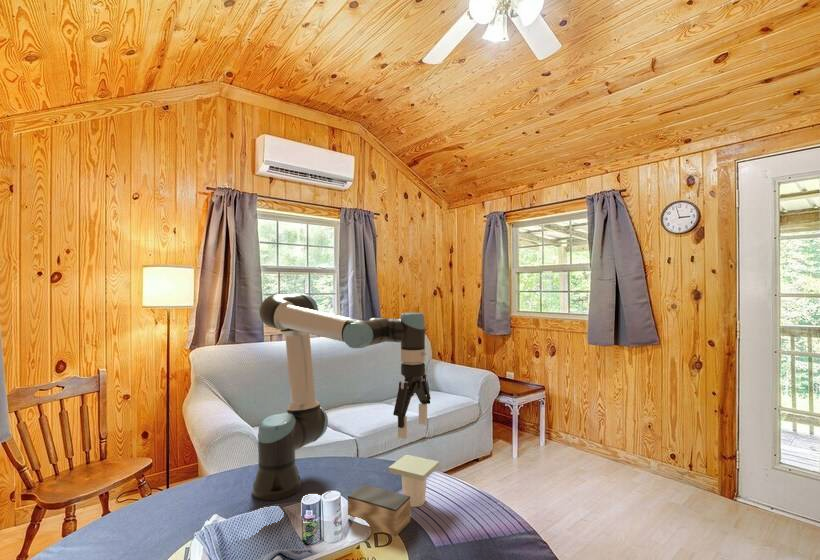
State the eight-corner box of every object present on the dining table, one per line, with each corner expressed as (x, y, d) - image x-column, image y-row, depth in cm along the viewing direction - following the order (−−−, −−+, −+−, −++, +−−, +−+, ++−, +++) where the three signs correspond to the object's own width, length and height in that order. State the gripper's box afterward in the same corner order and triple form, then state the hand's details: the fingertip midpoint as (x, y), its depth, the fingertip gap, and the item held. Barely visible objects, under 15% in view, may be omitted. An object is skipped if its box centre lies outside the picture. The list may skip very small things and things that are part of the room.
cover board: (388, 472, 127) (388, 467, 127) (406, 458, 137) (406, 454, 137) (423, 480, 121) (423, 475, 121) (439, 466, 131) (439, 461, 131)
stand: (347, 520, 119) (347, 495, 119) (363, 507, 126) (363, 484, 126) (396, 536, 111) (396, 509, 111) (410, 521, 118) (410, 496, 118)
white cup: (427, 495, 132) (427, 464, 132) (426, 508, 124) (425, 475, 125) (403, 494, 133) (402, 463, 133) (400, 507, 125) (399, 474, 125)
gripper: (404, 370, 117) (404, 446, 116) (440, 357, 139) (440, 420, 138) (381, 368, 120) (381, 441, 120) (420, 355, 142) (420, 417, 142)
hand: (413, 430), depth 129 cm, fingers open, 13 cm apart
